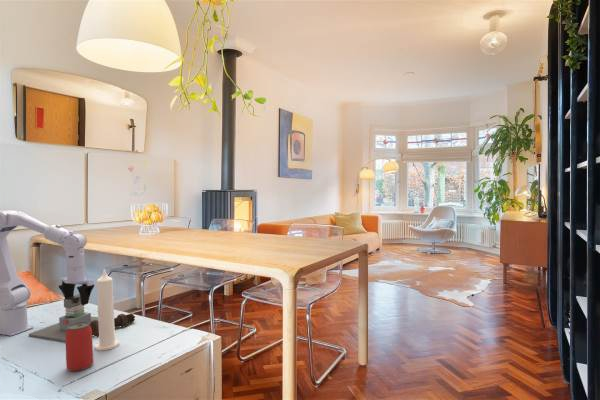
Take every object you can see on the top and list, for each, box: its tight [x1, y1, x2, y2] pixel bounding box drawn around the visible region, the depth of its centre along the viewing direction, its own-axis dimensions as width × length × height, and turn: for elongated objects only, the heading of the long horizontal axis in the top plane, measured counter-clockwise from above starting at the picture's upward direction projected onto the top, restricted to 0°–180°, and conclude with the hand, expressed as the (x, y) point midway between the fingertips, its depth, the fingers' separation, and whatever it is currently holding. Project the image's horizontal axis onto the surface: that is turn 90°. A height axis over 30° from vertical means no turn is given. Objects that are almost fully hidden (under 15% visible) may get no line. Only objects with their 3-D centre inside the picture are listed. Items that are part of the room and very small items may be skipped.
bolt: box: [90, 313, 136, 337], centre depth 133 cm, size 6×5×15 cm
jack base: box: [28, 311, 98, 343], centre depth 134 cm, size 20×20×5 cm
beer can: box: [64, 322, 94, 372], centre depth 105 cm, size 7×7×12 cm
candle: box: [94, 268, 121, 352], centre depth 118 cm, size 7×7×25 cm
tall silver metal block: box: [63, 294, 86, 318], centre depth 134 cm, size 4×6×8 cm
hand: (77, 303), depth 135 cm, fingers open, 7 cm apart
